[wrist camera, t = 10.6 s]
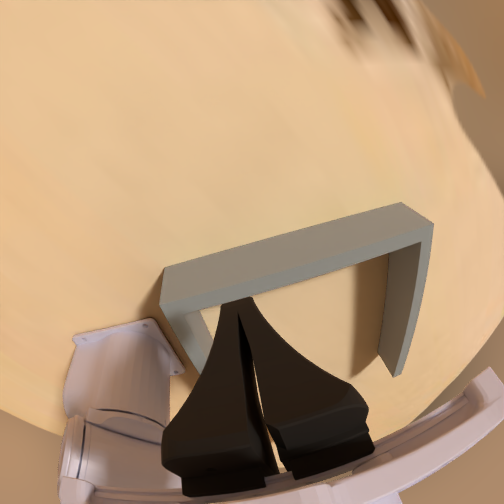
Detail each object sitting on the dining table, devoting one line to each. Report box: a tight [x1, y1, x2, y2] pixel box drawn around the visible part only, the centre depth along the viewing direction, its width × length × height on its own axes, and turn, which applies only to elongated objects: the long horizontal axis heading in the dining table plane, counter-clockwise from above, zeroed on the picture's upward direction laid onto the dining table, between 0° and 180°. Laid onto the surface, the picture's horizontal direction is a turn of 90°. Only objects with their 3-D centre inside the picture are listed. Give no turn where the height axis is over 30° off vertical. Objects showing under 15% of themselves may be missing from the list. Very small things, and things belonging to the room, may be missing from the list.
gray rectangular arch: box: [159, 202, 434, 378], centre depth 25 cm, size 20×20×4 cm
